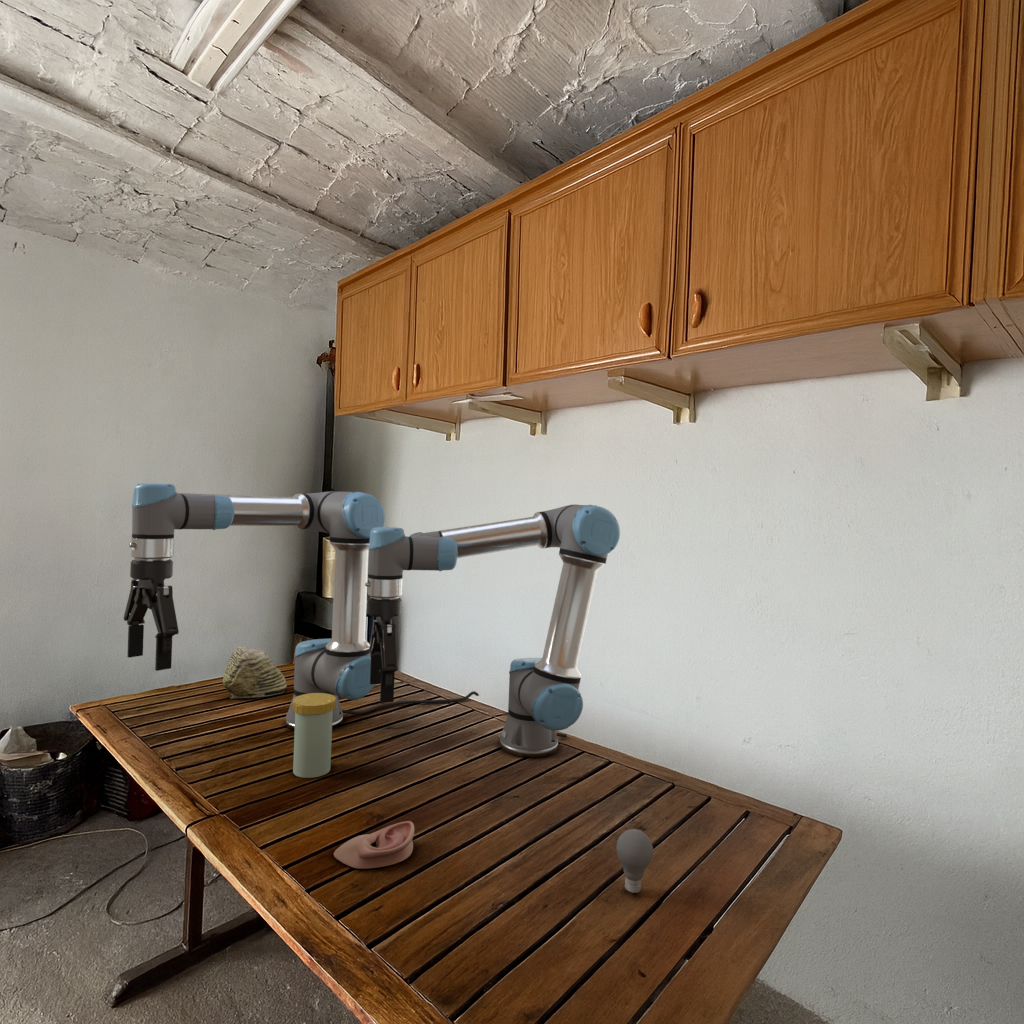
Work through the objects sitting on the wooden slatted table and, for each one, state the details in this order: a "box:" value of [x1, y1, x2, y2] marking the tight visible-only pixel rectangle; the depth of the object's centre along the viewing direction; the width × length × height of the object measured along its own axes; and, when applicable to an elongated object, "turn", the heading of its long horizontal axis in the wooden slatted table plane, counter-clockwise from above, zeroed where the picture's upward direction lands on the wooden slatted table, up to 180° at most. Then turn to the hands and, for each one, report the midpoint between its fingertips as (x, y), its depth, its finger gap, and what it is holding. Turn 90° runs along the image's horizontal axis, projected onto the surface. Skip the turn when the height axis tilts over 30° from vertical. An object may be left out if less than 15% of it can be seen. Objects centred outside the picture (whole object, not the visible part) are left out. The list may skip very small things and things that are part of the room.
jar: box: [292, 710, 333, 779], centre depth 146 cm, size 8×8×16 cm
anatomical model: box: [333, 820, 415, 870], centre depth 114 cm, size 13×4×12 cm
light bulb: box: [615, 828, 654, 894], centre depth 106 cm, size 6×6×10 cm
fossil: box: [222, 646, 288, 699], centre depth 198 cm, size 9×18×15 cm, turn 132°
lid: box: [292, 693, 336, 715], centre depth 146 cm, size 10×10×2 cm
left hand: (148, 662), depth 129 cm, fingers open, 13 cm apart
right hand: (381, 692), depth 140 cm, fingers open, 13 cm apart
